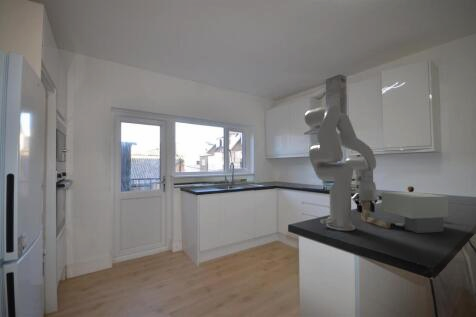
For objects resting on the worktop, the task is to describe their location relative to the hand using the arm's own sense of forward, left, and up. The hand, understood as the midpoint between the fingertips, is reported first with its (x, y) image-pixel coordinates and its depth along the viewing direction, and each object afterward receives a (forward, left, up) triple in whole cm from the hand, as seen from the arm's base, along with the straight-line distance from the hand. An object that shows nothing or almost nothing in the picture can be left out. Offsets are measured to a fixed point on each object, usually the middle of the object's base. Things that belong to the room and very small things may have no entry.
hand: (365, 211), depth 116 cm
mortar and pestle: (+32, +2, -5) cm, 32 cm away
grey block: (+14, -15, -5) cm, 21 cm away
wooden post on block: (0, -7, -5) cm, 8 cm away
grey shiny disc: (+11, -11, -5) cm, 16 cm away
